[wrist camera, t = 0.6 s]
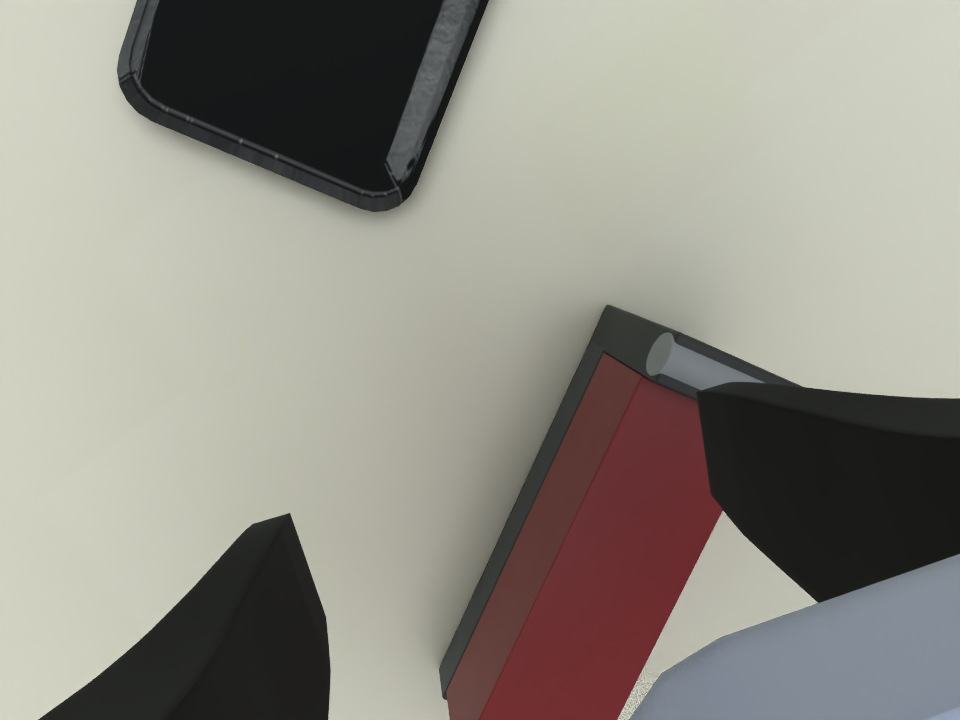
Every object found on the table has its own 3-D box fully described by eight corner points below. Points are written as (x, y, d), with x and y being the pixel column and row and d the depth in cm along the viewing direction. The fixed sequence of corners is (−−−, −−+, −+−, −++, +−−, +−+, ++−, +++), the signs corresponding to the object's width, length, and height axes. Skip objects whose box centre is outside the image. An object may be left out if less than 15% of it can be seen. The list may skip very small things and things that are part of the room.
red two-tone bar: (537, 700, 24) (583, 841, 18) (436, 669, 23) (452, 807, 18) (707, 348, 22) (813, 390, 17) (605, 303, 21) (680, 331, 16)
